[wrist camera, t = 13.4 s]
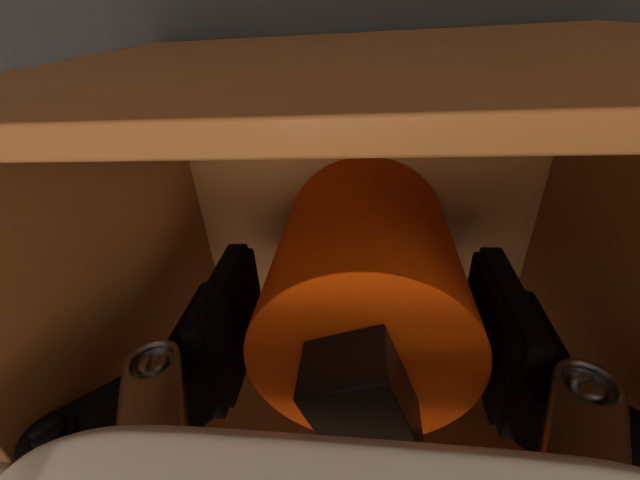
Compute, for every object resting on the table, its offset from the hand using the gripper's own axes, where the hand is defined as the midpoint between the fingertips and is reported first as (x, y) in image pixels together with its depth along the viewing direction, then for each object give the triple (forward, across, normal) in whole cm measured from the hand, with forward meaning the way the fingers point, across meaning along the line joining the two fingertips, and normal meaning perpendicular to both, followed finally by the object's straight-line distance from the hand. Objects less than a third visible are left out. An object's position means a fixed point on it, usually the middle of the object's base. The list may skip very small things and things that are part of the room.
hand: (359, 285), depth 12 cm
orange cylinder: (+4, 0, 0) cm, 4 cm away
